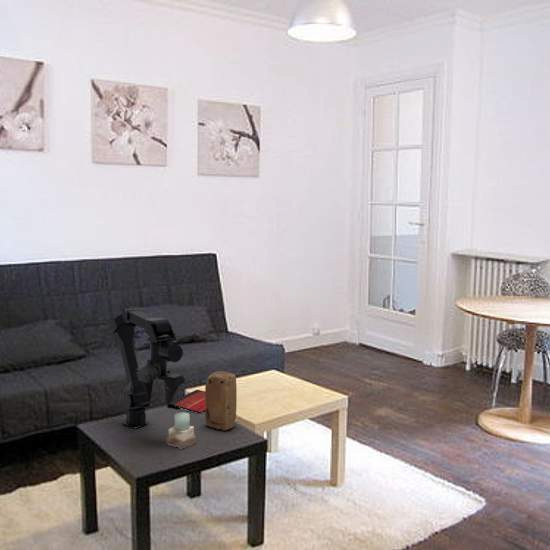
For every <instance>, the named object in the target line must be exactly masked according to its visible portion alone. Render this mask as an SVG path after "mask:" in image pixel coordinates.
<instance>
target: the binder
mask: <svg viewBox="0 0 550 550" xmlns="http://www.w3.org/2000/svg"><path fill="white" fill-rule="evenodd" d="M174 406H176V407H178V408H177V409H180V408H183V409H187V410H189V411H193V412H197V413H196V414H199V413H200V414H202V413H201V412H204V411H205V410H206V403H205V390H201V389H195V390H193V391H191V392H189V393H187V394H185V395H183V396H180V397H178V398H176V399H174V400H172V401H171V403H169V404H168V403H167V405H166V407H167V408H170V407H174ZM179 407H180V408H179ZM193 412H192V413H193ZM204 413H205V412H204Z"/></svg>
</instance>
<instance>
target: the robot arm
mask: <svg viewBox="0 0 550 550" xmlns="http://www.w3.org/2000/svg"><path fill="white" fill-rule="evenodd" d="M137 326H138V327H139V328H142V329H143V330H144V331H145V334H146V335H148V336H149V337H148V338H147V339H146V340H147V342H149V345H150V346H149V349H150V350H149V354H150V355H149V356H150V357H149V358H148V359H147V362H146V365H145V366H141V367H139V364H138V359H137V355H136V351H135V347H134V346H135V345H134V337H135V334H136V330H135V329H136V327H137ZM109 331H110V334H111V337H112V339H113V340H114V342H116V343H117V344H118V346H119V350H120V354H121V358H122V363H123V368H124V371H125V376H126V380H127V385H126V388H125V397H124V398H123V400H122V402H121V409H122V410H124V411H126V422H124V423H123V424H125V425H124V426H126V425H128V426H127V427H129V426H132V427H138V426H141V427H143V426H145V425H144V424H146V422H147V423H148V424H149V421H147V419H146V417H147V416H146V415H147V414H146V409H147V408H150V405H151V401H152V392H153V386H154V380H157V379H158V380H162V381H164V383H165V385H164V388H165V389H166V402H167V404H169V403H171V402H172V401H173V399H174V396H175V394H176V392H177V390H178V389H179V386H182V385H183V384H185V382H186V381H185V380H186V377H185V376H184V375H183V374H181V373H172V374H171V369H168V362H171V363H177V362H179V361H180V360H181V359H182V358H183V355H184V354H183V353H184V350H183V348H182V346H180V345H179V344H178V343H179V342H178V341H177V338H176V333H175V331H174V329H173V328H172V324H171V322H170V320H168V319H167V318H162V317H160V318H159V317H152V316H150V315H148V314H146V313H144V312H141V311H140V310H138V309H136V308H133V309H125V310H124V311H122V313H121V314H120V315H118V316H116V317H115V318H113V320H112V321H111V323H110V324H109ZM142 425H143V426H142ZM146 425H147V424H146ZM132 427H131V428H132ZM138 428H139V427H138Z"/></svg>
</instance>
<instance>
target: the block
mask: <svg viewBox="0 0 550 550" xmlns="http://www.w3.org/2000/svg"><path fill="white" fill-rule="evenodd" d="M204 386H205V387H204V389H205V390H204V391H205V403H206V410H205V412H204V414H205V416H204V417H205V421H204V422H205V425H206V426H208V427H210V428H212V427H213V428H212V429H215V428H217V429H216V430H218V429H222V430H221V431H228V429H229V430H231V429H233V427H234V426H235V422H236V418H237V398H238V396H237V391H238V389H237V377H236V375H235V373H233V372H229V371H226V370H225V371H223V370H218V371H214V372H212V373H211V374H210V375H208V377H207V379H206V382H205V385H204ZM230 428H231V429H230Z"/></svg>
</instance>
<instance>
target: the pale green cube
mask: <svg viewBox="0 0 550 550" xmlns="http://www.w3.org/2000/svg"><path fill="white" fill-rule="evenodd" d="M190 415H191V414H190V412H186V411H183V412H177V413H175V414H174V417H173V418H174V426H175V429H176V430H179V431H184V430H188V429H189V428H190V426H191V425H190V424H191V423H190V422H191V421H190V420H191V418H190V417H191V416H190Z"/></svg>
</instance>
